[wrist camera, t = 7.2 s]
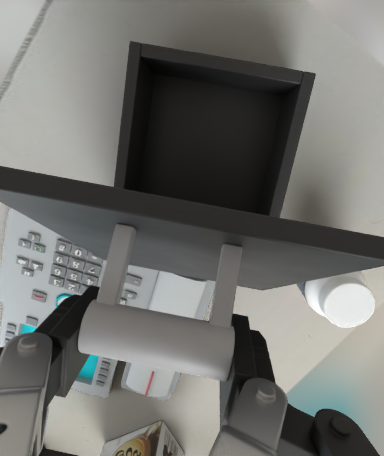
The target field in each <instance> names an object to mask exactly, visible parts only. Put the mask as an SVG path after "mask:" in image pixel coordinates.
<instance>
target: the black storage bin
mask: <svg viewBox="0 0 384 456" xmlns="http://www.w3.org/2000/svg"><path fill="white" fill-rule="evenodd" d="M315 76H316V74H315V73H310V72H303V71H299V70H293V69H287V68H282V67H276V66H270V65H264V64H259V63H253V62H247V61H241V60H236V59H230V58H224V57H218V56H213V55H207V54H201V53H195V52H190V51H184V50H178V49H172V48H167V47H161V46H155V45H149V44H144V43H143V44H141V43H138V42H132V41H130V45H129V54H128V63H127V72H126V81H125V90H124V100H123V109H122V118H121V127H120V136H119V145H118V154H117V163H116V172H115V181H114V187H116V188H121V189H127V190H132V191H137V192H143V193H148V194H154V195H159V196H164V197H170V198H175V199H180V200H186V201H191V202H197V203H202V204H207V205H213V206H218V207H224V208H229V209H234V210H240V211H245V212H250V213H256V214H261V215H267V216H272V217H277V218H280V214H281V210H282V206H283V202H284V198H285V194H286V190H287V186H288V182H289V178H290V174H291V170H292V166H293V162H294V158H295V154H296V150H297V147H298V143H299V139H300V135H301V131H302V127H303V123H304V119H305V115H306V111H307V107H308V103H309V99H310V95H311V91H312V87H313V83H314V79H315Z"/></svg>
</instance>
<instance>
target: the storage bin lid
mask: <svg viewBox="0 0 384 456" xmlns="http://www.w3.org/2000/svg"><path fill="white" fill-rule="evenodd" d="M0 202H2V203H4V204H5V205H7V206H9V207H11V208H12V209H14V210H16V211H18V212H20V213H21V214H23V215H25V216H27V217H28V218H30V219H32V220H34V221H36V222H37V223H39V224H41V225H43V226H44V227H46V228H48V229H50V230H52V231H53V232H55V233H57V234H59V235H60V236H62V237H64V238H66V239H68V240H69V241H71V242H73V243H75V244H76V245H78V246H80V247H82V248H84V249H85V250H87V251H89V252H91V253H92V254H94V255H96V256H98V257H100V258H101V259H103V260H106V265H105V269H104V273H103V277H102V281H101V285H100V289H99V293H98V297H97V299H96V300H93V301H92V302H91V303H90V304H89V306H88V308H87V310H86V312H85V314H84V317H83V319H82V322H81V326H80V330H79V335H78V350H79V351H80V352H81V353H85V354H90V355H95V356H100V357H105V358H110V359H115V360H120V361H125V362H130V363H135V364H140V365H145V366H150V367H155V368H160V369H165V370H170V371H175V372H180V373H185V374H190V375H195V376H200V377H205V378H211V379H216V380H221V381H226V380H227V379H228V377H229V374H230V370H231V366H232V360H233V354H234V344H235V331H234V327H233V326H231V320H232V313H233V306H234V300H235V293H236V287H237V286H242V287H247V288H252V289H258V290H267V289H272V288H277V287H282V286H287V285H292V284H297V283H302V282H306V281H311V280H316V279H321V278H326V277H331V276H336V275H341V274H346V273H351V272H356V271H361V270H366V269H371V268H376V267H381V266H384V237H380V236H374V235H369V234H363V233H358V232H353V231H347V230H342V229H337V228H331V227H326V226H320V225H315V224H310V223H304V222H299V221H293V220H288V219H283V218H277V217H272V216H267V215H261V214H256V213H250V212H245V211H240V210H234V209H229V208H224V207H218V206H213V205H207V204H202V203H197V202H191V201H186V200H180V199H175V198H170V197H164V196H159V195H154V194H148V193H143V192H137V191H132V190H127V189H121V188H116V187H110V186H105V185H100V184H94V183H89V182H84V181H78V180H73V179H67V178H62V177H57V176H51V175H46V174H41V173H35V172H30V171H24V170H19V169H14V168H8V167H3V166H0ZM129 265H132V266H138V267H143V268H148V269H153V270H158V271H164V272H169V273H174V274H179V275H185V276H190V277H195V278H200V279H205V280H211V281H216V284H215V290H214V296H213V302H212V307H211V313H210V319H209V321H204V320H199V319H194V318H189V317H184V316H179V315H173V314H168V313H163V312H158V311H153V310H148V309H143V308H138V307H132V306H127V305H122V304H120V300H121V295H122V291H123V287H124V283H125V278H126V274H127V270H128V266H129Z"/></svg>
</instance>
